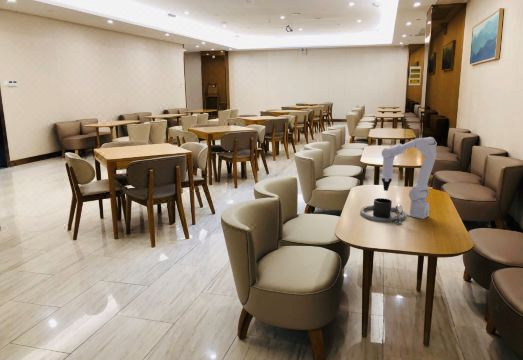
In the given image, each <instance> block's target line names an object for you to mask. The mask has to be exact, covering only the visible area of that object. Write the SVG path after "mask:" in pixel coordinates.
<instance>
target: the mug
mask: <svg viewBox="0 0 523 360" xmlns="http://www.w3.org/2000/svg"><path fill="white" fill-rule="evenodd" d="M392 203H393V202H392V200H391V199H389V198H381V197H379V198H374V199H373V205H374V208H373V209H372V216H376V217H382V218H391V215H392V214H391V213H392V211H391V207H392Z"/></svg>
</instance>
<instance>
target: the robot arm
mask: <svg viewBox="0 0 523 360" xmlns="http://www.w3.org/2000/svg"><path fill="white" fill-rule="evenodd" d="M437 144H438V142H437V141H436V139H435V138H434V137H433V136H428V137H418V138H415V139H412V140H410V141H408V142H405V143H404V144H402V143H399V142H398V143H395V145H391V146H389V147H388V148H384V149H382V150H381V156H382V157H383V158H382V159H383V160H382V171H381V174H380V175H379V177H382V178H381V181H382V185H383V191H386V192H388V191H389V188H390V184H391V183H392V178H393V169H394V167H393V166H394V160H395V158H396V156H399V155H402V154H404V153H405V151H407V150H409V149H412V148H416V149H417V150H418V152H420V153H421V154H422V155H423V156H424V159H423V161H422V163H421V167H420V170H419V174H418V176H417V181H416V183H415V184H414V185H413V186H412V188H411V189H410V191H409V193H408V197H409V199H410V208H409V209H410V210H409V213H407V214H406V215H407V216H408V217H413V218H418V219H421V220H424V219H426V218H428V217H429V216H430V202H429V201H426V200H427V198H428V196H429V189H430V187H429V186H428V183H429V179H430V177H431V173H432V171H433V167H434V165H435V162H436V159H437Z"/></svg>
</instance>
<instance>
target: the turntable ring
mask: <svg viewBox="0 0 523 360" xmlns="http://www.w3.org/2000/svg"><path fill="white" fill-rule="evenodd" d="M373 208H374V204H371V205H365V206H363V207H361V208H360V211H359V214H360V216H361V217H364V218H365V219H368V220H371V221H376V222H381V223H382V222H383V223H394V221H397V218H395V217H390V218H382V217H376V216H373V214H372V215H371V214H369V213H366V211H370V210H373ZM391 212H395V213H397V212H396V207H394V206H391ZM405 219H406V212H405V211H404V210H403V211H402V213H400V217H399V221H400V222H402V221H403V220H405Z"/></svg>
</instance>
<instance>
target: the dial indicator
mask: <svg viewBox="0 0 523 360" xmlns="http://www.w3.org/2000/svg"><path fill="white" fill-rule="evenodd" d="M395 208H396V212H395V213H397V214H396V216H394V218H397V221H394V222H393V224H395V225H397V226H398V225H402V224H403V222H402V221H399V217H400V215H401V214H400V213H402V211H404V210H403V206H402V205H401V204H396V206H395Z"/></svg>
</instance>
